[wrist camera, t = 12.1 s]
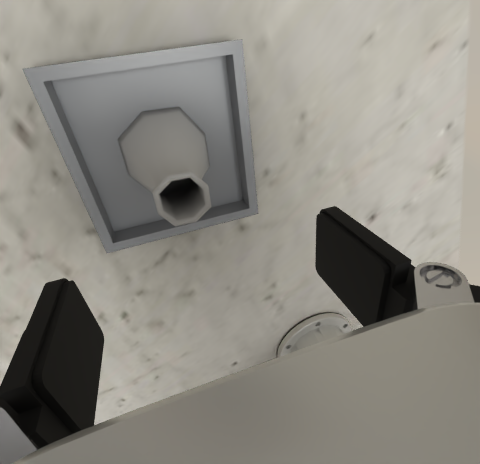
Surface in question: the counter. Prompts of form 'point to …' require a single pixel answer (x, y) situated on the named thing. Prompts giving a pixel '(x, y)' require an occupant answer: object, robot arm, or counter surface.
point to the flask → (169, 162)
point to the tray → (127, 110)
